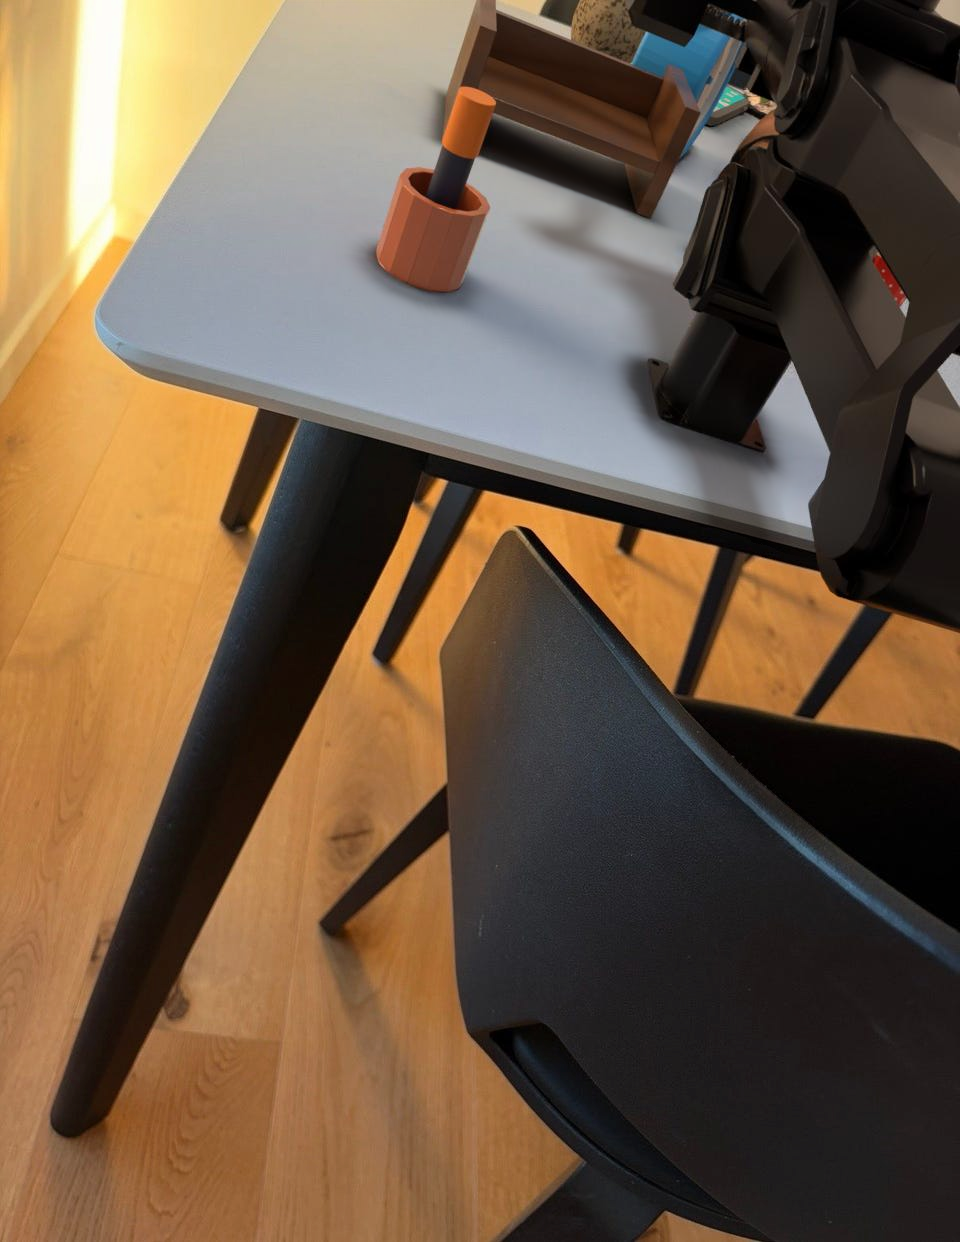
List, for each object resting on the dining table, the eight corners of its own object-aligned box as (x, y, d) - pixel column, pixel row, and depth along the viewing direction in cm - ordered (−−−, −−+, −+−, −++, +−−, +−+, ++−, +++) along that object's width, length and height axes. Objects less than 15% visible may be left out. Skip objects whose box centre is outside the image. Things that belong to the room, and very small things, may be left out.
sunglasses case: (812, 216, 95) (812, 133, 92) (730, 222, 98) (726, 142, 95) (831, 169, 109) (832, 96, 106) (758, 176, 112) (756, 105, 108)
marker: (436, 280, 61) (496, 109, 55) (401, 268, 61) (458, 95, 55) (437, 264, 63) (496, 96, 57) (403, 253, 62) (459, 82, 56)
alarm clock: (659, 178, 90) (750, -18, 81) (593, 142, 91) (676, -56, 81) (697, 148, 100) (782, -29, 91) (638, 116, 101) (716, -63, 91)
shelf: (651, 218, 82) (701, 112, 77) (441, 141, 79) (480, 24, 74) (637, 168, 90) (682, 69, 85) (445, 95, 86) (480, -14, 81)
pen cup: (459, 309, 61) (490, 226, 58) (369, 279, 60) (396, 192, 57) (460, 269, 65) (490, 189, 61) (376, 240, 63) (402, 157, 60)
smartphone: (641, 76, 107) (688, 61, 118) (637, 86, 108) (684, 70, 119) (717, 118, 106) (757, 99, 117) (712, 128, 106) (752, 109, 118)
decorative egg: (549, 47, 107) (590, -66, 101) (613, 67, 110) (657, -40, 104) (569, 75, 102) (614, -41, 96) (636, 96, 105) (684, -15, 99)
